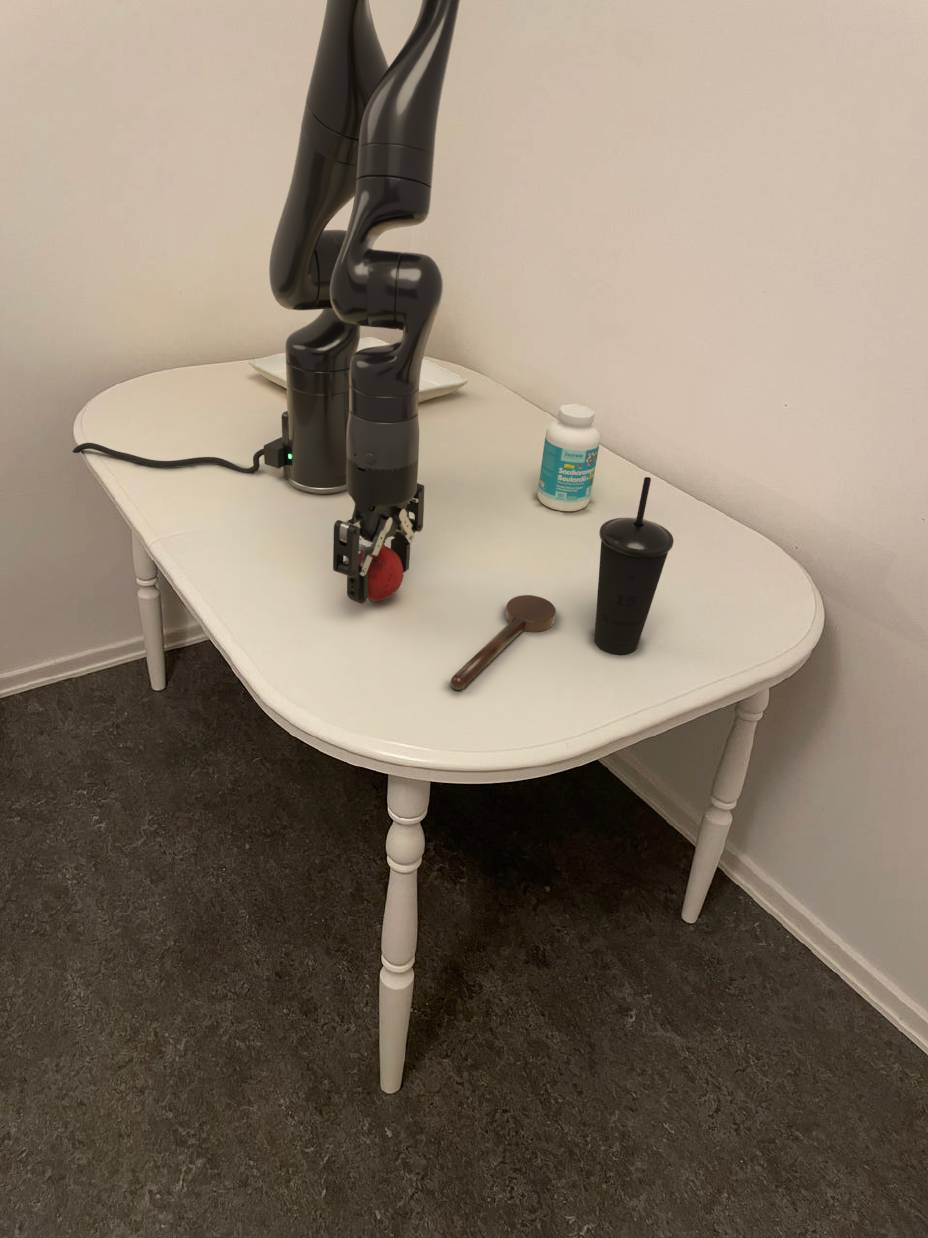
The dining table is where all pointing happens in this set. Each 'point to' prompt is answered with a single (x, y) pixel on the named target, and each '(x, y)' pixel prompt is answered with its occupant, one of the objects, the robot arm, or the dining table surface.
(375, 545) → the robot arm
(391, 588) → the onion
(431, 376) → the square plate
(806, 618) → the dining table surface
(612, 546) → the drinking cup
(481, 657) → the spoon
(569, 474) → the pill bottle
